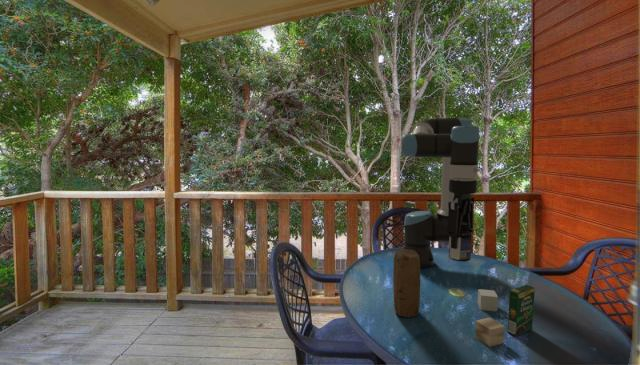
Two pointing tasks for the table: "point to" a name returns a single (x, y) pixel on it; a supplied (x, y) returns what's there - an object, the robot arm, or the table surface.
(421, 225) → the robot arm
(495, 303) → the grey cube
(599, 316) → the table surface
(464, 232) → the pill bottle
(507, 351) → the table surface
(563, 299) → the table surface
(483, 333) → the birch cube
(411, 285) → the block
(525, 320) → the coffee box
